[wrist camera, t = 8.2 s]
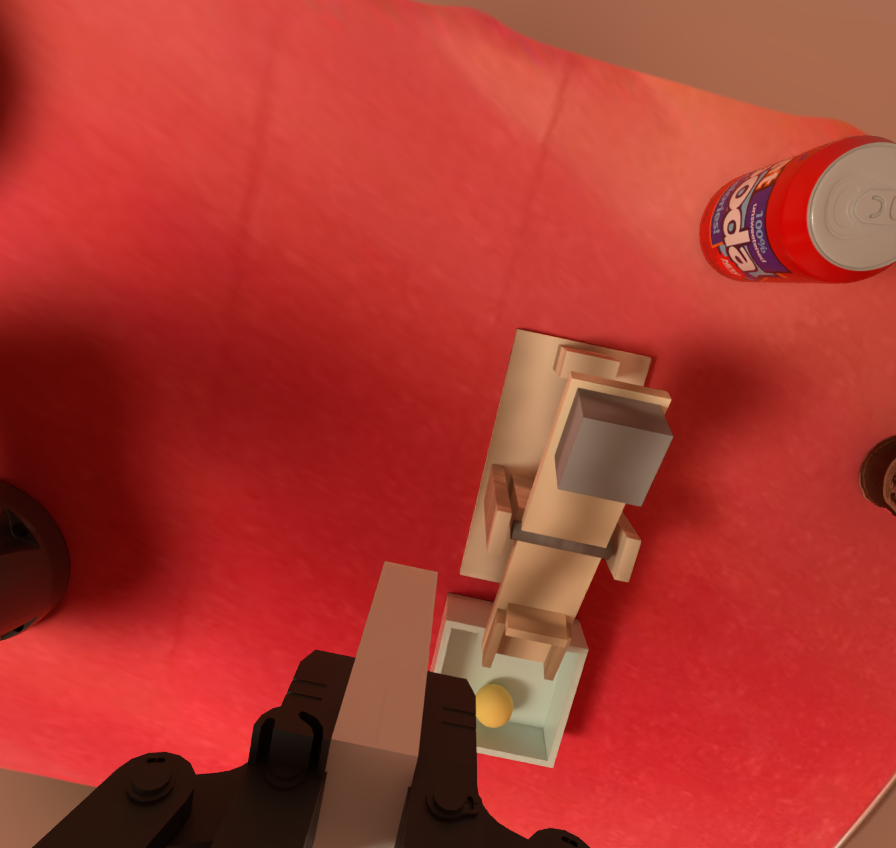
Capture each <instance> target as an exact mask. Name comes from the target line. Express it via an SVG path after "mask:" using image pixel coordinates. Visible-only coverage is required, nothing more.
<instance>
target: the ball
mask: <svg viewBox="0 0 896 848" xmlns="http://www.w3.org/2000/svg"><path fill="white" fill-rule="evenodd" d="M512 712H513V701H512V698H511V695H510V694H509V692H508V691H507V690H506V689H505V688H504V687H502V686H500V685H498V684H488V685H485V686H483V687H482V688H480V689H479V690H478V692H477V693H476V717H477V719H478V720H479V721H480V722H481V723H482V724H483V725H485V726H487V727H491V728H497V727H500V726H503V725H504V724H505V723H507V722H508V720H509V719H510V717H511V715H512Z"/></svg>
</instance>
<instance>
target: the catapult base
mask: <svg viewBox="0 0 896 848" xmlns="http://www.w3.org/2000/svg"><path fill="white" fill-rule="evenodd" d="M651 359H652V358H651V357H648V356H643V355H638V354H634V353H629V352H624V351H620V350H615V349H610V348H606V347H601V346H596V345H592V344H587V343H582V342H578V341H573V340H568V339H564V338H559V337H554V336H550V335H545V334H540V333H536V332H531V331H526V330H522V329H516V334H515V338H514V342H513V346H512V351H511V355H510V359H509V363H508V368H507V372H506V376H505V380H504V385H503V389H502V393H501V398H500V402H499V406H498V410H497V415H496V419H495V423H494V427H493V432H492V436H491V440H490V444H489V449H488V453H487V457H486V462H485V466H484V470H483V474H482V479H481V483H480V487H479V491H478V496H477V500H476V504H475V508H474V513H473V517H472V521H471V525H470V530H469V534H468V538H467V543H466V547H465V551H464V555H463V560H462V564H461V568H460V575H464V576H468V577H473V578H478V579H483V580H488V581H493V582H497V583H501V580H502V577H503V574H504V571H505V568H506V565H507V562H508V559H509V556H510V553H511V550H512V547H513V544H514V541H515V540H512V539H510V532H511V526H512V523H513V520H514V519H515V520H520V521H521V520H522V517H523V514H524V510H525V507H526V504H527V501H528V498H529V495H530V492H531V489H532V486H533V483H534V480H535V477H536V474H537V471H538V468H539V465H540V462H541V459H542V456H543V453H544V450H545V447H546V444H547V441H548V438H549V435H550V432H551V429H552V426H553V423H554V420H555V417H556V414H557V411H558V407H559V404H560V401H561V398H562V395H563V392H564V389H565V386H566V383H567V380H568V377H569V374H570V371H574V372H578V373H583V374H588V375H592V376H597V377H602V378H606V379H611V380H616V381H621V382H625V383H630V384H635V385H639V386H644V383H645V379H646V376H647V373H648V369H649V366H650V362H651ZM610 540H612V541H613V552H612V556H611V558H610V559H609V560H608V559H605V561H606V563H607V565H608V567H609V569H610V571H611V573H612V575H613V578H614V580H619V581H623V582H628V583H629V580H630V577H631V573H632V570H633V567H634V564H635V560H636V557H637V554H638V551H639V548H640V544H641V541H642V540H641V539H640V537H639V536H638V534H637V533H636V531H635V530H634V528H633V527H632V525H631V524H630V522H629V521H628V519H627V517H626V516H625V514H624V513H623V511H622V513H621V515H620V517H619V520H618V522H617V524H616V526H615V529H614V531H613V533H612V535H611V538H610Z"/></svg>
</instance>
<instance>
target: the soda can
mask: <svg viewBox="0 0 896 848" xmlns="http://www.w3.org/2000/svg"><path fill="white" fill-rule="evenodd" d="M699 237H700V245H701V249H702V252H703V254H704V256H705V258H706V260H707V261H708V263H709V264H710V265H711V267H712V268H713V269H714V270H716V271H717V272H718V273H720V274H721V275H723V276H725V277H727V278H729V279H732V280H736V281H742V282H776V283H829V284H838V283H851V282H856V281H860V280H864V279H867V278H869V277H872V276H874V275H876V274H878V273H880V272H882V271H884V270H885V269H887V268H888V267H889V266H891V265H892V264H893V263H894V262H896V143H894V142H892V141H890V140H887V139H884V138H881V137H876V136H853V137H847V138H843V139H840V140H836V141H833V142H831V143H828V144H825V145H822V146H820V147H817V148H814V149H812V150H809V151H806V152H804V153H801V154H798V155H796V156H793V157H790V158H788V159H785V160H782V161H780V162H777V163H774V164H771V165H769V166H766V167H763V168H761V169H758V170H755V171H753V172H750V173H747V174H745V175H742V176H740V177H738V178H735V179H733V180H732V181H730V182H728V183H727V184H726V185H724V186H723V187H722V188H721V189H720V190H718V191H717V192H716V194H715V195H714V196H713V197H712V198H711V200H710V201H709V203H708V204H707V206H706V208H705V210H704V213H703V215H702V219H701V223H700V231H699Z"/></svg>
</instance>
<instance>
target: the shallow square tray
mask: <svg viewBox="0 0 896 848" xmlns="http://www.w3.org/2000/svg"><path fill="white" fill-rule="evenodd" d="M493 604H494V602H491V601H486V600H481V599H476V598H471V597H466V596H462V595H457V594H452V593H448V595H447V599H446V603H445V608H444V612H443V616H442V621H441V625H440V629H439V634H438V638H437V642H436V647H435V651H434V655H433V659H432V664H431V668H430V672H435V673H440V674H445V675H450V676H454V677H459V678H464V679H467V680H468V682H469V684H470V686H471V688H472V690H473V692H474V694H475V695H476V693H477V692H478V690H479V689H480V688H482V687H483V686H485V685H488V684H498V685H500V686H502V687H504V688H505V689H506V690H507V691H508V692H509V694H510V695H511V698H512V701H513V712H512V715H511V717H510V719H509V720H508V722H507V723H505V724H504V725H503V726H500V727H497V728H491V727H487V726H485V725H483V724H482V723H481V722H480V721H479V720H478V719H477V717H476V742H477V753H482V754H487V755H492V756H496V757H501V758H506V759H511V760H516V761H521V762H526V763H531V764H536V765H541V766H546V767H551V768H553V766H554V762H555V759H556V756H557V752H558V749H559V746H560V742H561V739H562V736H563V733H564V729H565V726H566V723H567V719H568V716H569V713H570V709H571V706H572V703H573V699H574V696H575V693H576V690H577V686H578V683H579V680H580V676H581V673H582V670H583V666H584V663H585V660H586V656H587V653H588V650H589V649H588V646H587V643H586V640H585V637H584V634H583V630H582V627H581V624H580V621H579V620H578V619H574V621H573V624H572V626H571V631H572V640H571V642H570V644H569V646H568V648H567V651H566V653H565V655H564V657H563V660H562V662H561V664H560V666H559V668H558V671H557V673H556V675H555V677H554V680H553V681H551V680H546V679H544V665H543V664H544V663H540V662H536V661H531V660H526V659H521V658H516V657H511V656H506V655H502V654H497V653H496V654H495V657H494V660H493V663H492V666H491V668H487V667H482V655H483V651H482V650H481V644H482V638H483V635H484V632H485V629H486V626H487V623H488V620H489V616H490V613H491V610H492V607H493Z"/></svg>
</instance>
